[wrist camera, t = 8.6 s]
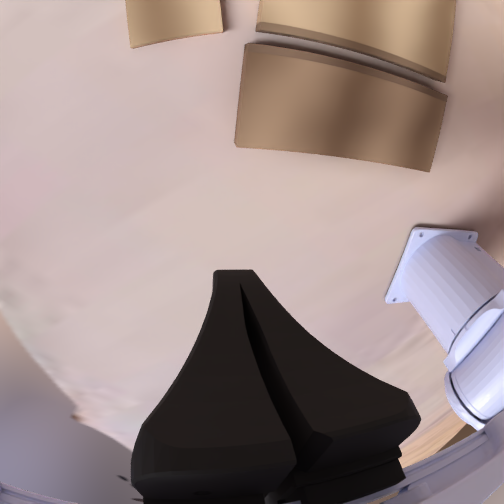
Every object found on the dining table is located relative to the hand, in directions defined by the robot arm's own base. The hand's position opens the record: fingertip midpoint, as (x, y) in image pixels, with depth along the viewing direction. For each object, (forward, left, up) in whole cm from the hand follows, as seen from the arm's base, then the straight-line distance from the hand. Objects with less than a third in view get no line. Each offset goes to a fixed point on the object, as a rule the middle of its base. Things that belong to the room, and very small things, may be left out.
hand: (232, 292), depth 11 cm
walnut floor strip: (-8, -6, -10) cm, 14 cm away
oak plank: (-8, -16, -10) cm, 20 cm away
